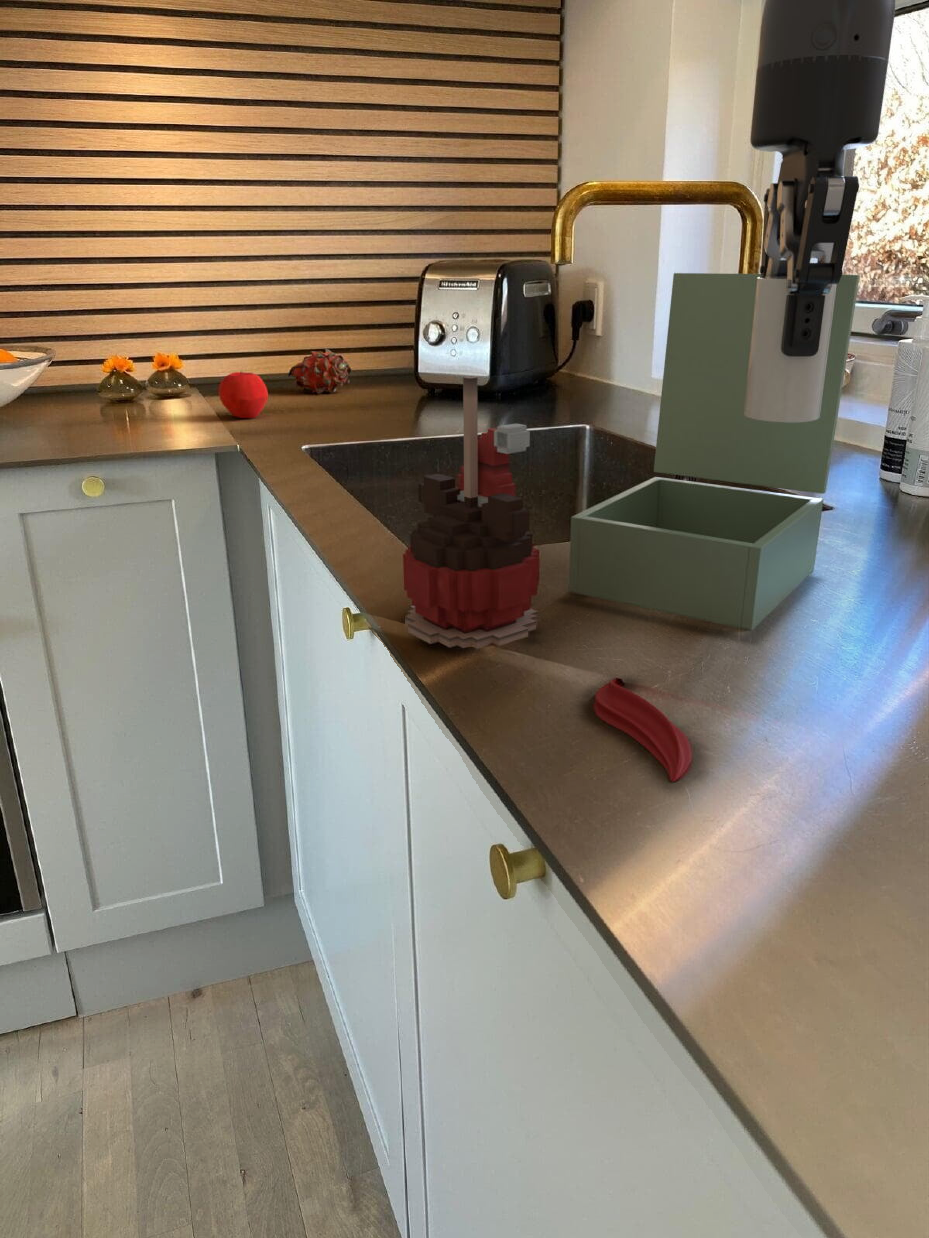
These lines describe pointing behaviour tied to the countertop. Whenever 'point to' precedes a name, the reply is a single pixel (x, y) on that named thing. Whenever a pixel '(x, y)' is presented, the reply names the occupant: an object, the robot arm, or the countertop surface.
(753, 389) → the white cylinder
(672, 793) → the countertop surface
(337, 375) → the dragon fruit
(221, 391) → the apple
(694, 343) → the bin lid
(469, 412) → the cake
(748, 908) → the countertop surface
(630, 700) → the cayenne pepper
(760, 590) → the bin
